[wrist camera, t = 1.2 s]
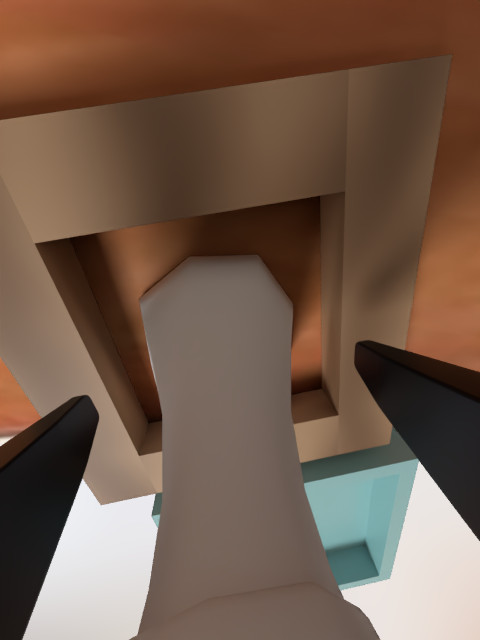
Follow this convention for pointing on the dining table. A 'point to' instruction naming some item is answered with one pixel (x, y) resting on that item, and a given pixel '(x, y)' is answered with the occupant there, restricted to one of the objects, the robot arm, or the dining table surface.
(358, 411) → the frame
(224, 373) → the flask
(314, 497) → the teal tray
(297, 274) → the dining table surface
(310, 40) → the dining table surface
